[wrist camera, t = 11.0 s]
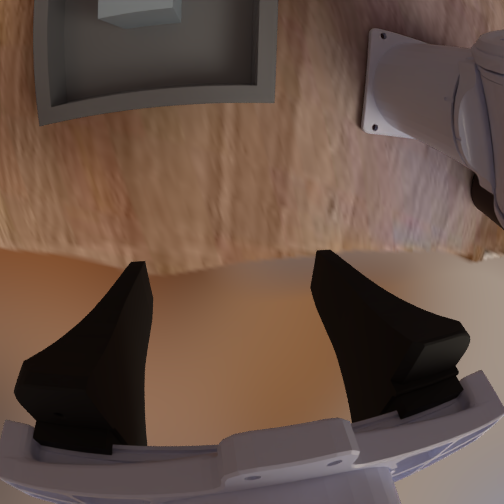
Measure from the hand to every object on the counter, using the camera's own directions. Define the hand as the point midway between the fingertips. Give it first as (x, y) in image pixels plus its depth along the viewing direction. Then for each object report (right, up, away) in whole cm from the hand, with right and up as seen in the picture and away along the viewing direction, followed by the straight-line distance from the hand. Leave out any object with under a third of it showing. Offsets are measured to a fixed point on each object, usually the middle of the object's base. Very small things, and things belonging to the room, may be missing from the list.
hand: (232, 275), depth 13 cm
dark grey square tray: (-5, +16, +1) cm, 17 cm away
